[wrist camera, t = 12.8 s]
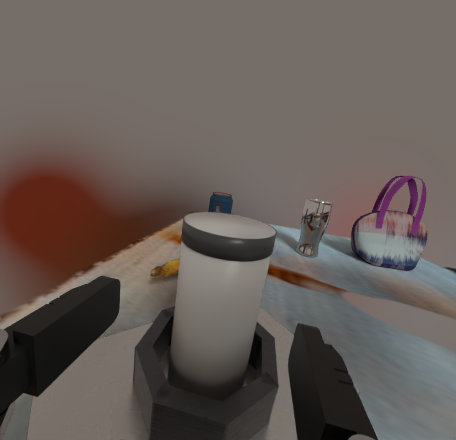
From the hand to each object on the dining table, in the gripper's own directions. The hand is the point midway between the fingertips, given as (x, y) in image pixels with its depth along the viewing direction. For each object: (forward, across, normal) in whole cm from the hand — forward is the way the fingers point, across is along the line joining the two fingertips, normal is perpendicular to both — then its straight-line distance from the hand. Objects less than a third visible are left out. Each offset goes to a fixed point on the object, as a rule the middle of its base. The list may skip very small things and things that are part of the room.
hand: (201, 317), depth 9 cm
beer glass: (+51, -18, +13) cm, 55 cm away
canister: (+5, 0, +9) cm, 10 cm away
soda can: (+55, +9, +13) cm, 57 cm away
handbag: (+57, -40, +13) cm, 71 cm away
